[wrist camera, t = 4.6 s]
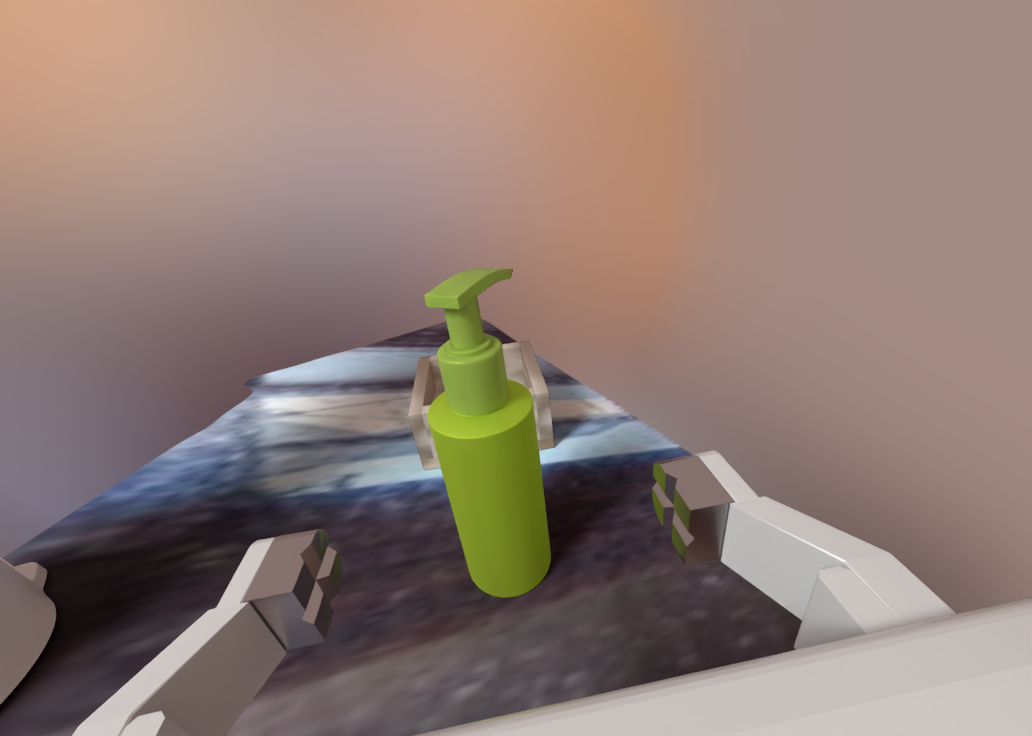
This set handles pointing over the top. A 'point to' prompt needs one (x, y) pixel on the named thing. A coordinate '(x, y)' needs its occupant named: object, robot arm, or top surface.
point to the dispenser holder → (518, 369)
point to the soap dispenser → (488, 446)
